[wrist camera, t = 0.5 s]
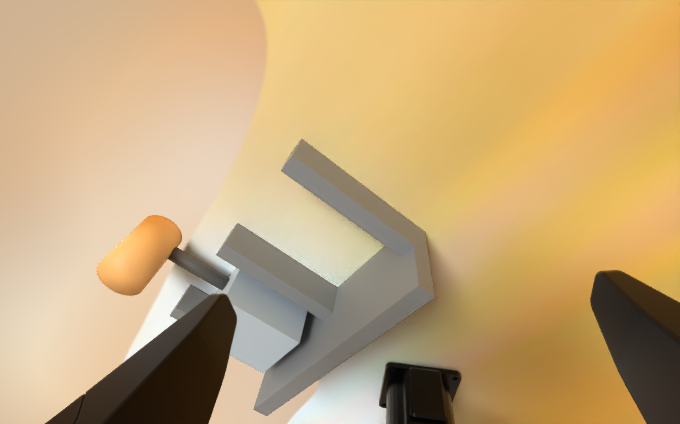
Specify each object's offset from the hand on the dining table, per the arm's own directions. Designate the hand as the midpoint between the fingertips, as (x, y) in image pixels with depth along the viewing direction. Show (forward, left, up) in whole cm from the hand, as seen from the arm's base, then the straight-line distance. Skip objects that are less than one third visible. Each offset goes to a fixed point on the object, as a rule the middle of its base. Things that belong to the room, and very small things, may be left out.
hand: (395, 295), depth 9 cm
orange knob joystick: (-13, +12, -14) cm, 22 cm away
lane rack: (-12, +6, -14) cm, 19 cm away
